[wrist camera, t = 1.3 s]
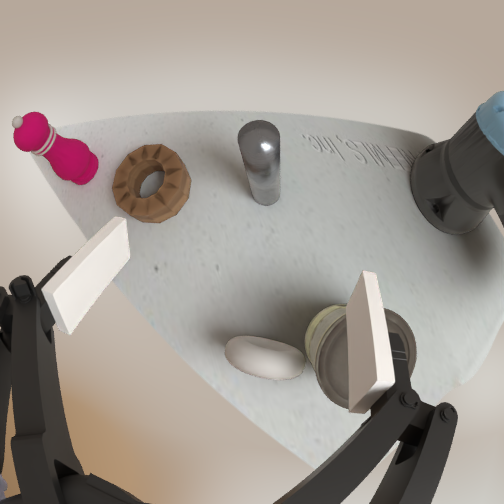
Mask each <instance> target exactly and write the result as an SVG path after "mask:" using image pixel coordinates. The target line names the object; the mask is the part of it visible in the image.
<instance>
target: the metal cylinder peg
mask: <svg viewBox="0 0 504 504" xmlns="http://www.w3.org/2000/svg"><path fill="white" fill-rule="evenodd" d="M238 144H239V147H240V151H241V154H242V158H243V162H244V165H245V169H246V173H247V176H248V180H249V184H250V187H251V191H252V195H253V198H254V200H255V201H256V202H257V203H259V204H261V205H264V206H268V205H272V204H274V203H275V202H276V201H277V200H278V199H279V197H280V134H279V131H278V129H277V128H276V127H275V126H274V125H273V124H271V123H270V122H267V121H263V120H256V121H252V122H249V123H247V124H246V125H244V126H243V127H242V128H241V130H240V131H239V134H238Z"/></svg>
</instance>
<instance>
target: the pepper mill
mask: <svg viewBox="0 0 504 504" xmlns="http://www.w3.org/2000/svg"><path fill="white" fill-rule="evenodd" d="M12 126H13V127H14V128H15V131H14V142H15V144H16V146H17V147H18V148H19V149H20V150H22V151H26V152H29V151H31V152H32V153H33V154H35V155H36V156H44V157H45V158H46V159H47V160H48V161H49V162H50V164H51V166H52V168H53V170H54V172H55V173H56V174H57V175H58V176H59V177H60V178H62V179H63V180H71V181H72V182H74V183H76V184H78V185H83V184H86V183H87V182H89V181H90V180H91V179H92V178H93V177H94V175H95V174H96V172H97V169H98V159H97V157H96V155H94V154H93V153H92V152H90V151H89V148H88V146H87V145H86V144H85V143H83V142H82V141H80V140H77V139H68V138H64V137H61V136H60V135H58V134H57V133H56V130H55V128H54V127H52V126H51V125H50V124H48V120H47V119H46V117H45V116H44V115H43V114H41V113H39V112H31V113H28V114H26V115H25V116H23V117H21V116H16V117H15V118H14V119H13V121H12Z"/></svg>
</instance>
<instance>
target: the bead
mask: <svg viewBox="0 0 504 504" xmlns="http://www.w3.org/2000/svg"><path fill="white" fill-rule="evenodd" d="M155 171H165V176H164V182H163V184H162V186H161V187H160V188H159V190H158V191H157V193H155V194H153V195H151V196H150V197H148V198H141V196H140V189H141V184H142V182H143V181H144V180H145V178H146V177H147V176H148V175H150V174H152V173H153V172H155ZM190 185H191V178H190V176H189V174H188V171H187V169H186V166H185V164H184V163H183V162H182V160H181V159H180V157H179V156H178V155H177V153H176V152H174V151H172V150H171V149H169V148H167V147H166V146H164V145H162V144H156V145H144V146H142V147H140V148H138V149H137V150H135V151H133V152H132V153H130V154H128V155H127V156H126V158H125V159H124V160H123V162H122V163H121V164H120V166H119V167H118V169H117V170H116V174H115V178H114V182H113V187H112V189H113V193H114V197H115V200H116V204H117V205H118V206H119V207H120V208H122V209H123V210H124V211H125V212H127V213H128V214H129V215H130V216H132V217H134V218H136V219H138V220H139V221H141V222H147V223H161V222H163V221H165V220H167V219H169V218H171V217H173V216H175V215H177V213H178V212H179V211H180V209H181V208H182V206H183V205H184V204H185V202H186V201H187V200H188V198H189V191H190Z"/></svg>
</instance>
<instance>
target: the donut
mask: <svg viewBox="0 0 504 504" xmlns="http://www.w3.org/2000/svg"><path fill="white" fill-rule="evenodd" d="M225 356H226V359H227V360H228V361H229V363H230V364H231V365H232V366H234V367H235V368H237V369H239V370H240V371H242V372H245V373H247V374H250V375H253V376H257V377H260V378H265V379H271V380H287V379H292V378H295V377H297V376H299V375H300V374H301V373H302V372H303V370H304V368H305V364H306V360H305V357H304V355H303V354H302V353H301V351H299V350H298V349H296V348H295V347H293V346H290V345H288V344H285V343H282V342H279V341H275V340H271V339H266V338H262V337H255V336H237V337H234V338H232V339H230V340H229V341H228V342H227V344H226V346H225Z"/></svg>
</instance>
